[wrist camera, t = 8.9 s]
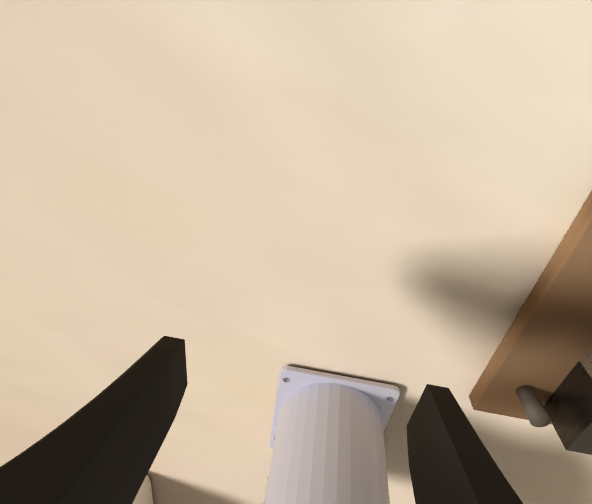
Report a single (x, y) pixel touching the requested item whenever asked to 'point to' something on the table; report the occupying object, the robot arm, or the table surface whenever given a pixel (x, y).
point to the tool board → (544, 333)
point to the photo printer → (144, 493)
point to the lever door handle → (574, 407)
